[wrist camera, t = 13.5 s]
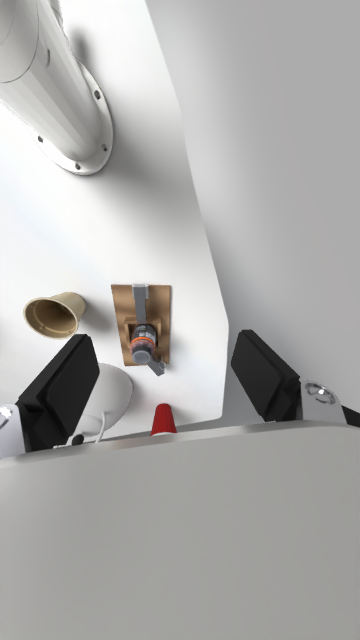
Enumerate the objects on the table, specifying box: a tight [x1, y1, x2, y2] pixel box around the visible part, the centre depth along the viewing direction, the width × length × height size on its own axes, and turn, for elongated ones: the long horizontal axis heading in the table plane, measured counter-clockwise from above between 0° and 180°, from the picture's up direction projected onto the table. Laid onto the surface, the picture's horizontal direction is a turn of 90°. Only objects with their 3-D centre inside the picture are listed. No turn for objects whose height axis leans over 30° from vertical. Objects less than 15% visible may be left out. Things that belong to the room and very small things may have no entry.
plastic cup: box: [150, 403, 177, 436], centre depth 57 cm, size 11×11×12 cm
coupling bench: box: [111, 285, 170, 366], centre depth 42 cm, size 26×14×3 cm, turn 177°
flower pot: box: [23, 292, 86, 339], centre depth 34 cm, size 9×9×9 cm
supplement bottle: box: [130, 324, 155, 365], centre depth 38 cm, size 6×6×11 cm
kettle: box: [54, 363, 133, 448], centre depth 43 cm, size 25×23×22 cm
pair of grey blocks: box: [132, 284, 166, 376], centre depth 41 cm, size 28×8×5 cm, turn 177°
